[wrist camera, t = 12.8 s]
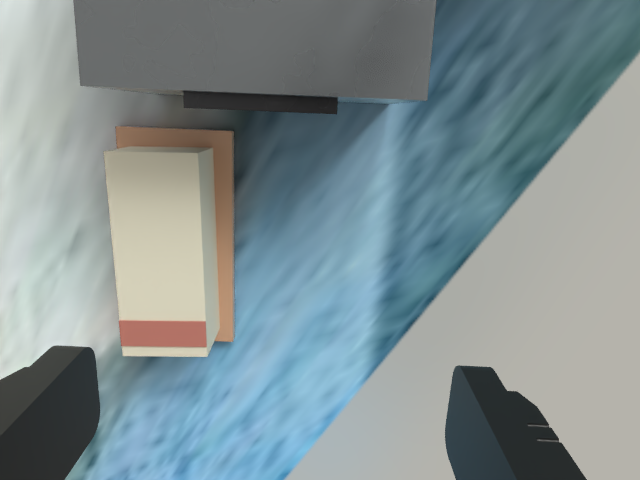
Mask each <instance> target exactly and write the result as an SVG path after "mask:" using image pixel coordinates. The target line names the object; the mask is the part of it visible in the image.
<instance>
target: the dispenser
mask: <svg viewBox="0 0 640 480" xmlns="http://www.w3.org/2000/svg"><path fill="white" fill-rule="evenodd" d="M435 10H436V0H74V12H75V24H76V36H77V49H78V61H79V73H80V85H81V86H87V87H96V88H106V89H115V90H124V91H133V92H143V93H152V94H166V95H184V108H204V109H227V110H251V111H275V112H299V113H323V114H337V103H338V102H354V103H378V104H395V103H406V102H417V101H427V96H428V85H429V75H430V64H431V53H432V42H433V32H434V21H435Z"/></svg>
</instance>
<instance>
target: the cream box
mask: <svg viewBox="0 0 640 480" xmlns="http://www.w3.org/2000/svg"><path fill="white" fill-rule="evenodd" d="M103 152H104V163H105V173H106V184H107V194H108V205H109V215H110V226H111V236H112V247H113V257H114V268H115V278H116V288H117V299H118V309H119V328H120V338H121V346H122V351H123V356H166V357H208V354H209V352H210V350H211V347H212V345H213V343H214V341H215V338H216V336H217V334H218V331H219V329H220V316H219V290H218V264H217V237H216V211H215V185H214V159H213V148H209V147H150V146H129V147H124V148H119V149H114V150H108V151H103Z"/></svg>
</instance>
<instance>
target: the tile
mask: <svg viewBox="0 0 640 480" xmlns="http://www.w3.org/2000/svg"><path fill="white" fill-rule="evenodd" d="M116 141H117V149H119V148H124V147H129V146H150V147H209V148H213V159H214V185H215V211H216V237H217V264H218V290H219V316H220V329H219V331H218V334H217V336H216V338H215V341H229V342H233V340H234V337H235V260H234V131H227V130H202V129H178V128H153V127H129V126H116Z"/></svg>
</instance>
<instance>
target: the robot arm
mask: <svg viewBox="0 0 640 480" xmlns="http://www.w3.org/2000/svg"><path fill="white" fill-rule="evenodd" d="M99 417H100V402H99V391H98V380H97V370H96V359H95V354H94V351H93V350H92V349H91V348H90V347H75V346H53V347H51V348H50V349H49V350H48V351H46V352H45V353H44V354H43V355H42V356H41V357H40V358H39V359H38V360H37V361H36V362H34V363H33V364H32V365H31V366H30V367H24V368H22V369H20V370H19V371H17V372H15V373H13V374H11V375H9V376H7V377H5V378H3V379H1V380H0V480H65V478H66V477H67V475H68V474H69V472H70V471H71V469H72V468H73V466H74V465H75V463H76V462H77V460H78V459H79V458H80V456H81V455H82V453H83V452H84V450H85V449H86V447H87V446H88V444H89V443H90V441H91V440H92V438H93V437H94V435H95V432H96V430H97V427H98V423H99ZM445 441H446V449H447V454H448V457H449V460H450V463H451V466H452V469H453V472H454V475H455V478H456V480H587V479H586V478H585V477H584V475H583V474H582V472H581V471H580V469H579V468H578V466H577V465H576V463H575V462H574V460H573V459H572V457H571V456H570V454H569V453H568V452H567V450H566V449H565V447H564V446H563V444H562V443H559V438H558V437H557V436H556V434H555V433H554V431H553V430H552V428H549V424H548V422H547V421H546V419H545V418H544V416H543V415H542V414H541V412H540V411H539V409H538V408H537V406H535V405H534V404H533V403H531V402H530V401H529V400H527V399H526V398H525V397H523V396H522V395H521V394H520V393H518V392H516V391H515V392H514V391H507V390H506V389H505V387H504V386H503V384H502V382H501V381H500V379H499V377H498V376H497V374H496V373H495V371H494V370H493V369H492V368H491V367H475V366H456V367H455V369H454V372H453V377H452V384H451V391H450V398H449V405H448V412H447V419H446V428H445Z"/></svg>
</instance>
